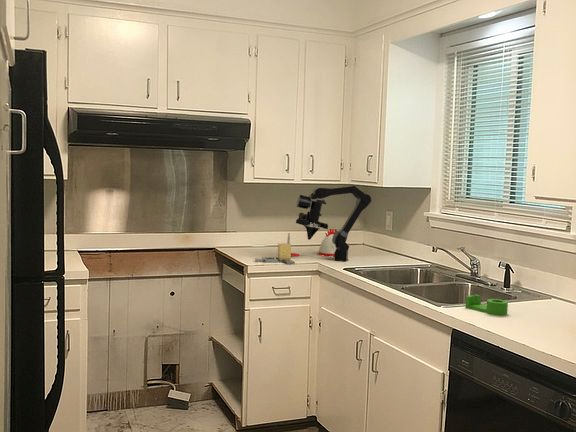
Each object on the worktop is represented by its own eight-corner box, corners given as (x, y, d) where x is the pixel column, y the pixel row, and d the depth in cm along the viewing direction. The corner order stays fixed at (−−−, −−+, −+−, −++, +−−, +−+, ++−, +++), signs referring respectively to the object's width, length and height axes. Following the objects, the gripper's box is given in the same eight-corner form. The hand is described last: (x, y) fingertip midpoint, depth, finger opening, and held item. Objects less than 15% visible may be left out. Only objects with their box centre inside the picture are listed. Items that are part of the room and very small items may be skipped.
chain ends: (287, 259, 337) (287, 257, 337) (294, 264, 323) (294, 261, 323) (254, 260, 332) (254, 257, 332) (260, 264, 318) (260, 261, 318)
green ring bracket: (511, 315, 226) (512, 302, 225) (498, 317, 222) (499, 304, 221) (477, 306, 238) (478, 294, 238) (464, 308, 234) (465, 295, 234)
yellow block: (288, 260, 335) (289, 243, 334) (290, 261, 331) (291, 244, 330) (277, 260, 333) (278, 243, 332) (279, 261, 329) (280, 244, 328)
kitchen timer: (347, 256, 358) (348, 229, 357) (326, 257, 352) (327, 230, 351) (334, 252, 370) (335, 227, 369) (314, 253, 364) (315, 227, 363)
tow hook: (289, 254, 360) (280, 255, 353) (291, 231, 360) (281, 232, 352) (302, 256, 356) (292, 257, 348) (303, 233, 355) (294, 233, 347)
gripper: (318, 210, 348) (312, 238, 348) (292, 206, 336) (286, 234, 337) (331, 214, 339) (325, 242, 340) (305, 209, 327) (299, 238, 328)
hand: (308, 239), depth 336 cm, fingers closed
